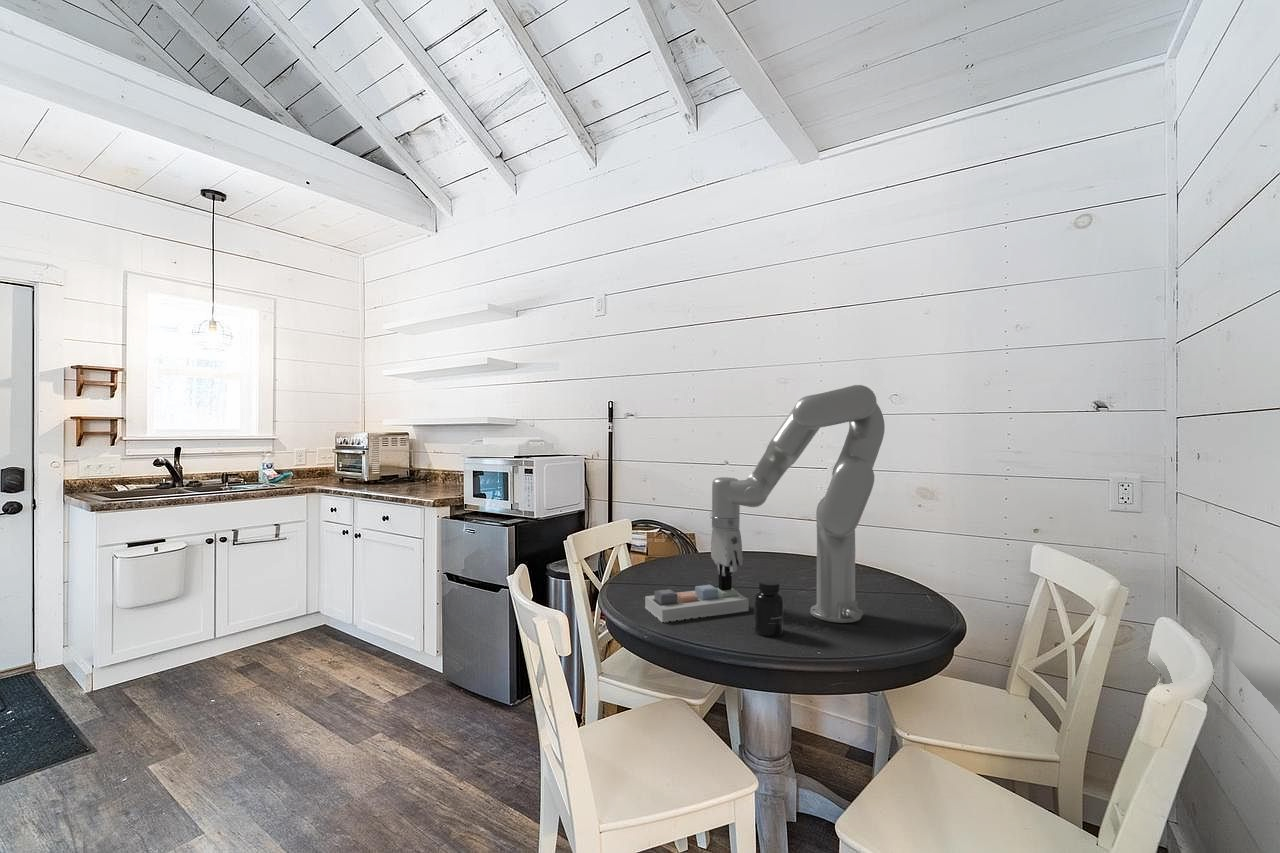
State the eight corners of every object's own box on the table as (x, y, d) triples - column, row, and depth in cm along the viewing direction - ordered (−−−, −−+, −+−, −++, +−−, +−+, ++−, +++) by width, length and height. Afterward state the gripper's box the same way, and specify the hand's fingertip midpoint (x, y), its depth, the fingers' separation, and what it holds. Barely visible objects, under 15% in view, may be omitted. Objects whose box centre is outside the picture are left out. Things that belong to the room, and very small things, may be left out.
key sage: (737, 602, 157) (737, 590, 157) (722, 604, 155) (722, 592, 155) (729, 597, 161) (729, 586, 161) (714, 599, 160) (714, 587, 160)
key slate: (718, 600, 155) (718, 588, 155) (702, 602, 153) (702, 590, 153) (710, 595, 159) (710, 584, 159) (695, 597, 157) (695, 585, 157)
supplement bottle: (777, 639, 134) (777, 588, 134) (750, 633, 137) (750, 583, 137) (787, 630, 140) (787, 581, 139) (760, 625, 143) (760, 577, 143)
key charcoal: (677, 605, 151) (677, 593, 150) (661, 607, 149) (661, 595, 149) (670, 600, 155) (670, 588, 155) (654, 602, 153) (654, 590, 153)
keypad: (748, 610, 154) (748, 599, 154) (662, 622, 145) (662, 610, 145) (726, 597, 165) (726, 586, 165) (645, 608, 156) (645, 596, 156)
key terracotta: (697, 607, 153) (697, 595, 153) (682, 609, 151) (682, 597, 151) (690, 602, 157) (690, 591, 157) (675, 604, 155) (675, 592, 155)
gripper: (751, 526, 152) (751, 595, 153) (724, 517, 166) (723, 580, 167) (726, 528, 150) (726, 598, 150) (701, 519, 164) (700, 583, 164)
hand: (725, 589), depth 158 cm, fingers closed
